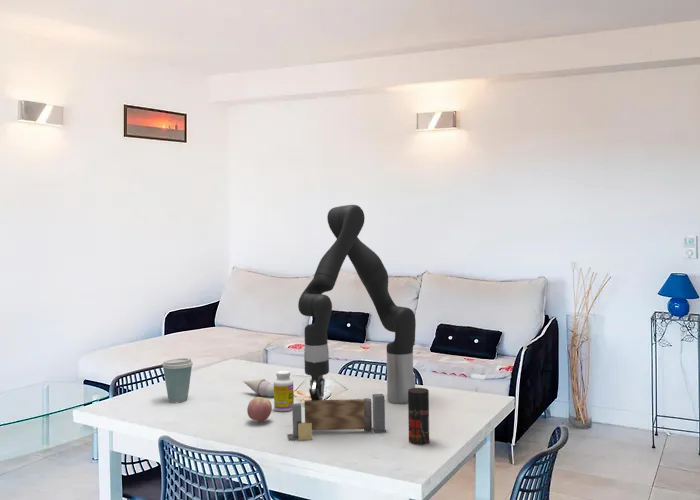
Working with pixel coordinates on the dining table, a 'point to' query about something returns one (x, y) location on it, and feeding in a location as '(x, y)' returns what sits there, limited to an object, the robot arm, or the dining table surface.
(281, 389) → the supplement bottle
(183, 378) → the disposable coffee cup
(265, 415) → the apple
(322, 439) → the dining table surface
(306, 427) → the toy blocks
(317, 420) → the gate
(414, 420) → the deodorant
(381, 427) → the hinge post
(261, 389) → the ice cream cone
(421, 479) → the dining table surface
